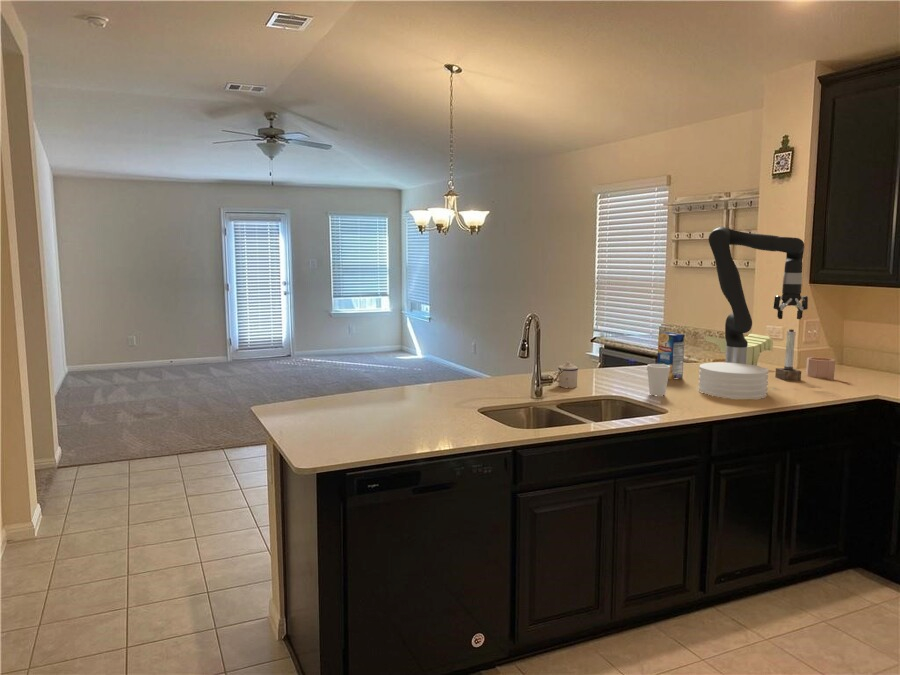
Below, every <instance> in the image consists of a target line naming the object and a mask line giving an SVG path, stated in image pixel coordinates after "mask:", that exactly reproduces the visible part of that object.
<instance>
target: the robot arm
mask: <svg viewBox="0 0 900 675" xmlns="http://www.w3.org/2000/svg"><path fill="white" fill-rule="evenodd" d="M708 243H709V246H710V249H711V252H712V254H713V257H714V261H715V267H716V272H717V273H716V274H717V278H718V282H719V286H720V290H721V292H722V293H723V295H724V297H725V298H726V300H727V302H728V303H729V305H730V307H731V311H732V313H730V314H728V316H727V317H726V319H725V324H724V329H725V331H724V339H726V342H727V346H726V353H725V361H724V363H740V364H746V361H747V345H748V342H747V340H746V339H745V338H744V337H745V336H744V334H747V333H749V332H750V331H751V329H752V326H753V320H752V316H751V313H750V310H749V308H748V305H747V302H746V297H745V294H744V290H743V285H742V280H741V275H740V271H739V269H738V267H737V265H736V263H735V261H734V260H733V257H732V253H731V247H730V246H731V245H732V246H742V247H743V246H744V247H748V248H751V249H754V250H759V251H767V252H780V253H786V256H785V257H786V258H785V261H784V262H785V263H784V270H783V271H784V272H783V278H782V288H781V289H782V290H781V292H782V295H781V296H780V295H775V296H774V300H773V301H774V302H773V307H772V308H773V309H774V310H776V311H777V316H776V317H777V318H778V320H782V319H783V314H784V311H783V310H784V309H785V308H786V307H787V306H788V307H789V306H790V307H791V306H794V307H795V308H796V309H797V311H796V319H797V320H801V319H802V318H803V312H804V311H805V310H808V303H809V302H808V300H809V297H808V296H807V295H801V293H802V286H803V259H804V253H805V252H804V251H805V243H804V240H802V239H801V238H799V237H792V236H791V237H789V236H778V235H771V234H762V233H761V234H760V233H752V232H744V231H739V230H736V229H732V228H729V227H724V226H719V227H716V228H715V229H713V230H712V231H711V232H710V233H709V235H708ZM800 301H801V302H800Z"/></svg>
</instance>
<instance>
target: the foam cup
mask: <svg viewBox="0 0 900 675" xmlns="http://www.w3.org/2000/svg"><path fill="white" fill-rule="evenodd" d="M646 366H647V367H646V371H647V379H648V391H649V395H650V394H652V395H657V396H656V397H664V396H663V395H665V396H666V391H667V386H668V381H669V379H668V377H669V372H670V366H669V365H664V364H657V363H648V364H647V365H646ZM652 395H651V396H652Z"/></svg>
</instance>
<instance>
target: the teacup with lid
mask: <svg viewBox="0 0 900 675" xmlns="http://www.w3.org/2000/svg"><path fill="white" fill-rule="evenodd" d="M561 369H564V371H563V372H562V374H561V375H560V376H559V375H558V374H559V373H558V372H559V370H561ZM578 371H579V367H577V366H576V365H574V364H573V363H571V361H566V362H565V363H564V364H561V365H559V366H558V371H556V372H555V373H554V374H553V376H554V375H556V374H557V373H558V374H557V375H558V376H559V378H558V377H557V378H558V379H557V380H556V381H555V382H557V383H558V384H557V385H558V387H559V386H561V387H560V388H562V387H575V388H577V387H578ZM557 375H556V376H557Z"/></svg>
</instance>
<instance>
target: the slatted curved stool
mask: <svg viewBox="0 0 900 675" xmlns="http://www.w3.org/2000/svg"><path fill="white" fill-rule="evenodd" d="M744 338H745V339H746V340H747V342H748V345H747V361H746V364H749V365H755V366H758V361H759V358H760V356H761V355H760V354H762V353H763V352H765V351H771V352H773V349H774V348H773V347H774V341H773V339H772V337H770V336H768V335H762V334H756V333H749V334H748V335H747V336H744ZM705 341H706V342H709V343H712V344H713V345H717V346H718V347H719V350H720V353H722V354H726V346H727V342H726V339H725V338H723V337H722V338H721V337H717V336H710V335H705Z"/></svg>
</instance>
